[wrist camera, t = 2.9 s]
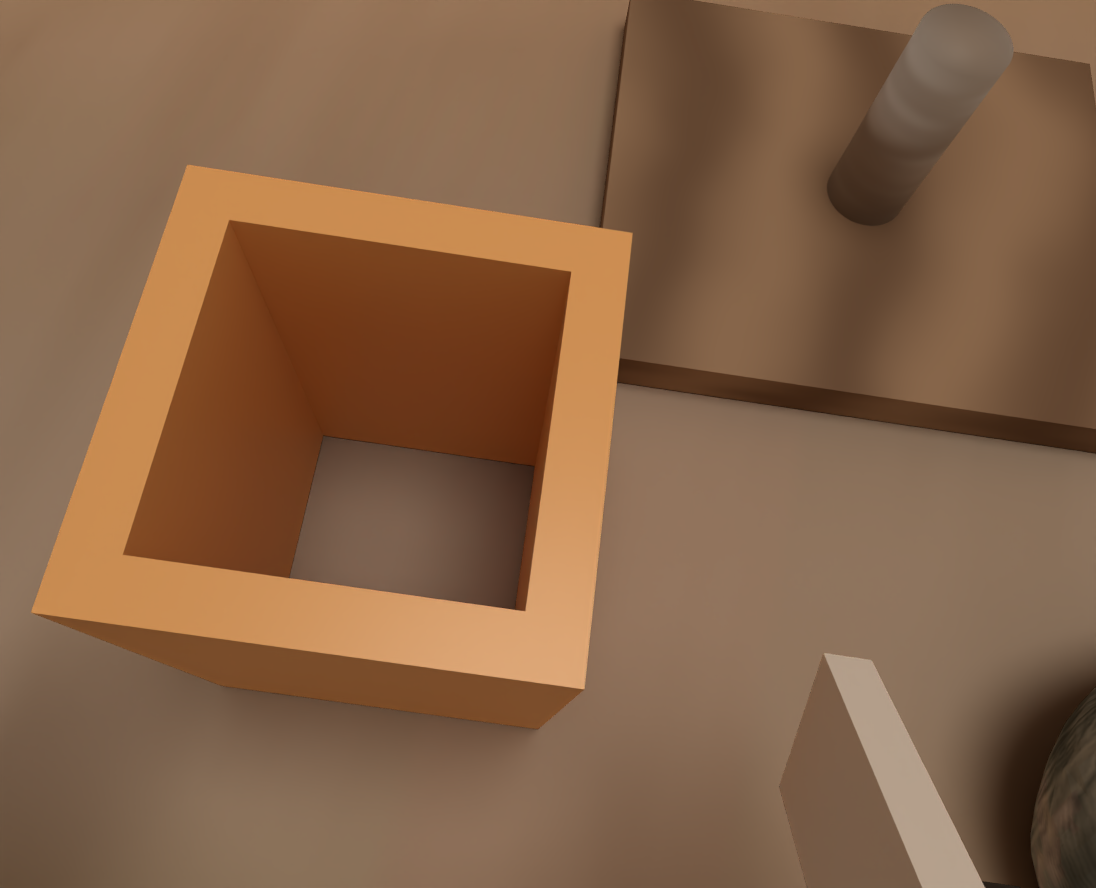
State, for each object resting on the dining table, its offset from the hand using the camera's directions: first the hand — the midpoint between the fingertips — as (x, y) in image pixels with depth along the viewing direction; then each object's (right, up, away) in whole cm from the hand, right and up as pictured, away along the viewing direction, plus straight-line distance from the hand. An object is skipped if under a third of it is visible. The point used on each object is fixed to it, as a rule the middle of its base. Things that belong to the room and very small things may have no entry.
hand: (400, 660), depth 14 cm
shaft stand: (+12, +11, +15) cm, 22 cm away
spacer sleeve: (-1, 0, +10) cm, 10 cm away
